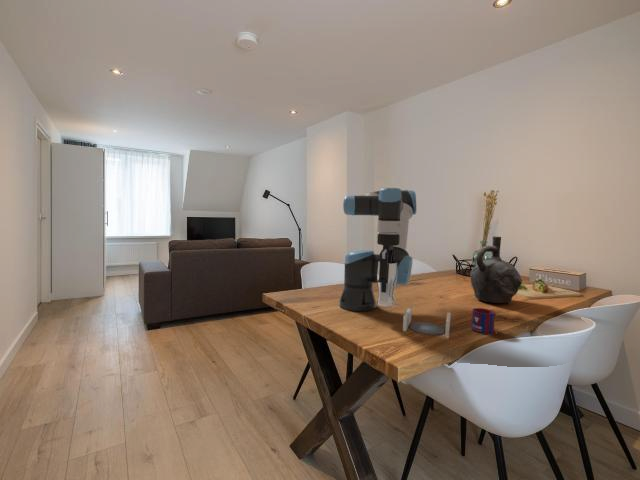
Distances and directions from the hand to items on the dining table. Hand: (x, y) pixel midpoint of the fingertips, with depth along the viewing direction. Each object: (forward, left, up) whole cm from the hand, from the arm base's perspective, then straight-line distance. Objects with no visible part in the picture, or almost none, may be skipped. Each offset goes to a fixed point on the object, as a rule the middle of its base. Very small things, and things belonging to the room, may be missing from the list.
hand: (386, 298), depth 112 cm
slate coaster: (+14, +1, -9) cm, 16 cm away
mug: (+32, +9, -9) cm, 35 cm away
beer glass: (0, 0, -2) cm, 2 cm away
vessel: (+37, +55, -9) cm, 67 cm away
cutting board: (+61, +90, -10) cm, 109 cm away
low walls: (+14, +1, -9) cm, 16 cm away
